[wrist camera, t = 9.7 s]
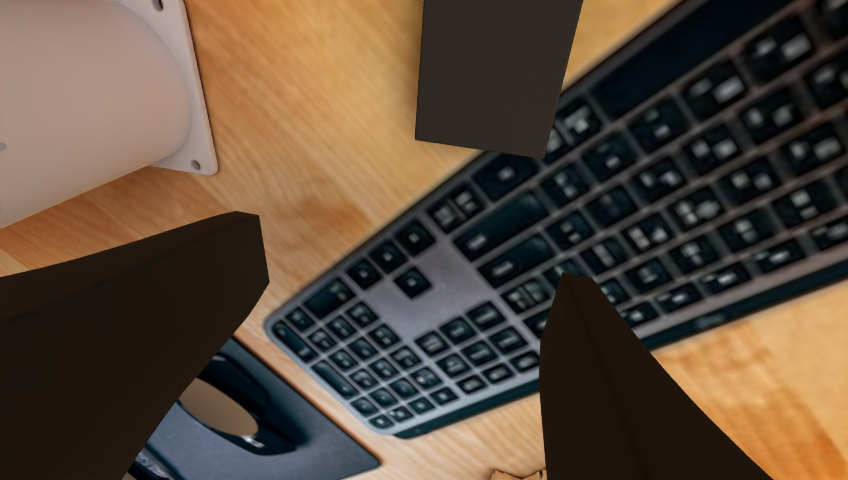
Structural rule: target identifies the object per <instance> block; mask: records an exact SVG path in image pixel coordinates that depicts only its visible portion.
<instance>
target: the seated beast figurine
mask: <svg viewBox="0 0 848 480" xmlns="http://www.w3.org/2000/svg"><path fill="white" fill-rule="evenodd" d="M542 474H543V476H542V475H541V474H540V473H539V472H536V474H535V475H532V476H529V477H527V478H524V479H519V478H516V477H513V476H511V475H508V474H506V473H501V472H499V471H497V470H495V473H493V474H492V478H491V480H547V474H546V470H543V473H542Z"/></svg>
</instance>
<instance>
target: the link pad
mask: <svg viewBox="0 0 848 480" xmlns="http://www.w3.org/2000/svg"><path fill="white" fill-rule="evenodd" d="M582 3H583V0H424V6H423V21H422V36H421V51H420V67H419V82H418V97H417V112H416V127H415V140H419V141H425V142H432V143H439V144H446V145H453V146H459V147H466V148H473V149H480V150H486V151H493V152H500V153H507V154H513V155H520V156H527V157H534V158H540V159H543V158H544V157H545V153H546V149H547V145H548V141H549V137H550V133H551V129H552V125H553V121H554V116H555V112H556V108H557V104H558V100H559V96H560V92H561V88H562V84H563V80H564V76H565V72H566V68H567V64H568V60H569V56H570V52H571V48H572V44H573V39H574V35H575V31H576V27H577V23H578V19H579V15H580V11H581V7H582Z"/></svg>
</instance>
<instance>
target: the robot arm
mask: <svg viewBox="0 0 848 480" xmlns="http://www.w3.org/2000/svg"><path fill="white" fill-rule="evenodd" d="M161 1H162V3H163V9H162V8H161V7H160V4H159V0H0V229H2V228H4V227H6V226H8V225H11V224H13V223H15V222H18V221H20V220H22V219H25V218H27V217H29V216H32V215H34V214H36V213H39V212H41V211H43V210H46V209H48V208H50V207H52V206H55V205H57V204H59V203H62V202H64V201H66V200H69V199H71V198H73V197H76V196H78V195H80V194H83V193H85V192H87V191H90V190H92V189H94V188H96V187H99V186H101V185H103V184H106V183H108V182H110V181H113V180H115V179H117V178H120V177H122V176H124V175H127V174H129V173H131V172H134V171H136V170H138V169H140V168H143V167H145V166H147V165H148V166H154V167H160V168H165V169H171V170H177V171H183V172H188V173H194V174H200V175H205V176H211V175H213V174H215V173H216V172H217V171H218V164H217V159H216V154H215V149H214V144H213V139H212V134H211V130H210V125H209V120H208V115H207V110H206V105H205V101H204V96H203V91H202V86H201V81H200V76H199V72H198V67H197V62H196V57H195V52H194V47H193V43H192V38H191V33H190V28H189V23H188V18H187V14H186V9H185V5H184V2H183V0H161ZM196 161H197V162H198V163H199V164H200V166H199V165H198V164H197V162H196ZM269 282H270V281H269V275H268V269H267V263H266V256H265V250H264V244H263V238H262V231H261V225H260V219H259V215H255V214H250V213H244V212H239V211H234V212H229V213H225V214H221V215H217V216H213V217H210V218H207V219H203V220H200V221H197V222H194V223H191V224H187V225H184V226H181V227H178V228H175V229H172V230H169V231H166V232H163V233H160V234H157V235H153V236H150V237H147V238H144V239H141V240H138V241H135V242H131V243H128V244H125V245H121V246H118V247H115V248H111V249H108V250H105V251H101V252H98V253H94V254H91V255H88V256H84V257H81V258H77V259H74V260H70V261H66V262H62V263H59V264H55V265H51V266H47V267H43V268H38V269H34V270H30V271H26V272H21V273H17V274H13V275H8V276H4V277H0V480H122V478H123V477H124V475H125V474H126V472H127V471H128V469H129V468H130V466H131V465H132V463H133V462H134V460H135V459H136V457H137V456H138V454H139V453H140V451H141V450H142V448H143V447H144V445H145V444H146V442H147V441H148V439H149V438H150V437H151V435H152V434H153V432H154V431H155V430H156V428H157V427H158V425H159V424H160V422H161V421H162V420H163V418H164V417H165V415H166V414H167V413H168V411H169V410H170V408H171V407H172V406H173V404H174V403H175V402H176V401H177V399H178V398H179V397H180V396H181V394H182V393H183V392H184V391H185V389H186V388H187V387H188V386H189V385H190V384H191V382H192V381H193V380H194V379H195V378H196V377H197V375H198V374H199V373H200V372H201V371H202V370H203V368H204V367H205V366H206V365H207V364H208V363H209V362H210V360H211V359H212V358H213V357H214V356H215V355H216V353H217V352H218V351H219V350H220V349H221V348H222V346H223V345H224V344H225V343H226V342H227V341H228V339H229V338H230V337H231V336H232V335H233V334H234V332H235V331H236V330H237V329H238V328H239V326H240V325H241V324H242V323H243V322H244V320H245V319H246V318H247V317H248V316H249V314H250V313H251V311H252V310H253V308H254V307H255V305H256V304H257V302H258V301H259V299H260V297H261V296H262V294H263V292H264V291H265V289H266V287H267V286H268V284H269ZM539 391H540V403H541V416H542V427H543V439H544V451H545V462H546V474H547V480H773V479H772V478H771V477H770V476H769V475H768V474H767V473H766V472H764V471H763V470H762V469H761V468H760V467H759V466H758V465H757V464H756V463H755V462H754V461H753V460H751V459H750V458H749V457H748V456H747V455H746V454H745V453H744V452H743V451H742V450H741V449H740V448H739V447H738V446H737V445H736V444H735V443H734V442H733V441H732V440H731V439H730V438H729V437H728V436H727V435H726V434H725V433H724V432H723V431H722V430H721V429H720V428H719V427H718V426H717V425H716V424H715V423H714V422H713V421H712V420H711V419H710V418H709V417H708V416H707V415H706V414H705V413H704V412H703V411H702V410H701V409H700V408H699V407H698V406H697V405H696V404H695V403H694V402H693V401H692V400H691V399H690V397H689V396H688V395H687V394H686V393H685V392H684V391H683V390H682V389H681V387H680V386H679V385H678V384H677V383H676V382H675V381H674V380H673V379H672V377H671V376H670V375H669V374H668V373H667V372H666V371H665V370H664V368H663V367H662V366H661V365H660V364H659V363H658V361H657V360H656V359H655V358H654V357H653V356H652V354H651V353H650V352H649V351H648V349H647V348H646V347H645V346H644V345H643V343H642V342H641V341H640V340H639V338H638V337H637V336H636V335H635V333H634V332H633V331H632V330H631V328H630V327H629V326H628V324H627V323H626V322H625V321H624V319H623V318H622V317H621V315H620V314H619V313H618V311H617V310H616V309H615V307H614V306H613V305H612V303H611V302H610V301H609V299H608V298H607V297H606V295H605V294H604V293H603V291H602V290H601V289H600V287H599V286H598V285H597V284H596V282H595V281H594V280H593V279H592V278H591V277H586V276H580V275H575V274H570V273H564V272H562V275H561V278H560V282H559V285H558V288H557V291H556V294H555V297H554V300H553V303H552V306H551V309H550V312H549V316H548V319H547V322H546V325H545V328H544V331H543V334H542V337H541V341H540V362H539Z"/></svg>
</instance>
